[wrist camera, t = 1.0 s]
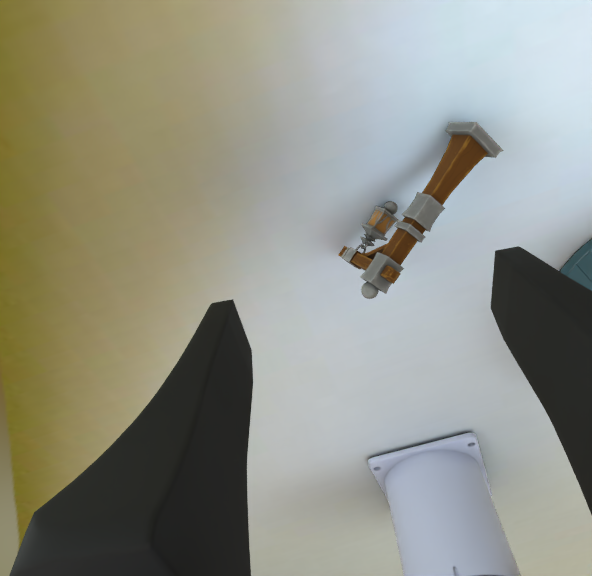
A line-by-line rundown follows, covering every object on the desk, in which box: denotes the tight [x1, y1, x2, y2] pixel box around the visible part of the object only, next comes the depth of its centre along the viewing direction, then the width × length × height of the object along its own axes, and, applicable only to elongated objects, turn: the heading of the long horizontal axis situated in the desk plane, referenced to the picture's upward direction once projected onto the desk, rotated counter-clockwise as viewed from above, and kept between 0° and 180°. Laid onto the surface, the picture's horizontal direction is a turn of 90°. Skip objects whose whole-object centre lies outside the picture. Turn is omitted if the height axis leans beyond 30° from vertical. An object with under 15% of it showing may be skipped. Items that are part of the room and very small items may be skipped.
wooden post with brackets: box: [339, 122, 503, 299], centre depth 21 cm, size 2×8×4 cm, turn 140°
